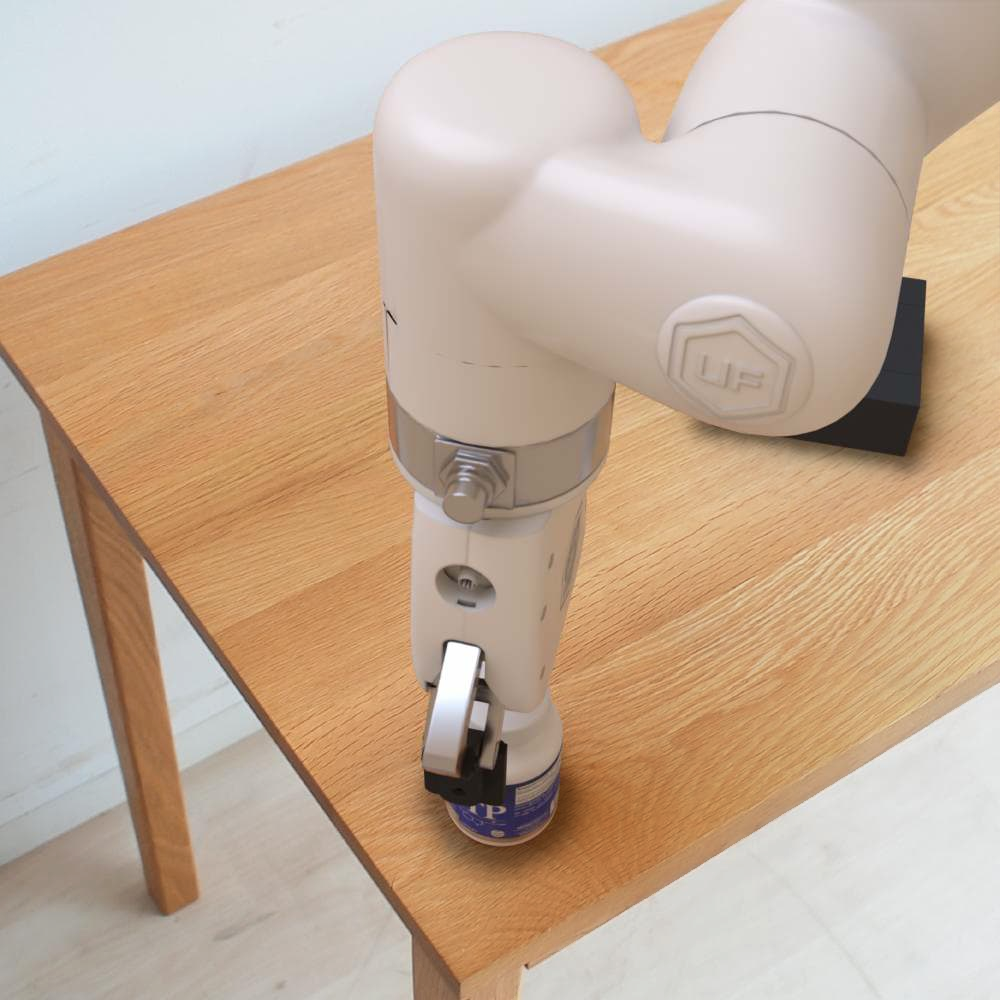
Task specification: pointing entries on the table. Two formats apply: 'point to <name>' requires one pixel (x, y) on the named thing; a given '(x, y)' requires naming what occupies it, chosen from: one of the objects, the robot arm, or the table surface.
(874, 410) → the socket pad
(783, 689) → the table surface
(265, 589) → the table surface
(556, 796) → the pill bottle
